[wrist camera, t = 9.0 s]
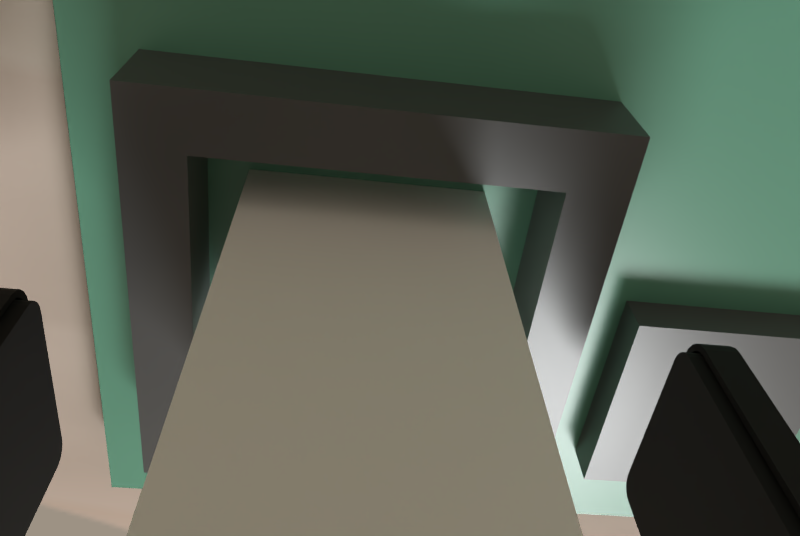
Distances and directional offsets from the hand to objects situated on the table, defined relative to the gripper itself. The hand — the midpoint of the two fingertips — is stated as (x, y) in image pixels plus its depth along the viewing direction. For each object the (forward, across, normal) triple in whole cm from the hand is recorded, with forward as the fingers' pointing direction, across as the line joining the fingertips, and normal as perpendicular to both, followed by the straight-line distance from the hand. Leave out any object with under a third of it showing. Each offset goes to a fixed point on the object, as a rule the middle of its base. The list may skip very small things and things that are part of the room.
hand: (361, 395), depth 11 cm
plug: (+3, 0, 0) cm, 3 cm away
